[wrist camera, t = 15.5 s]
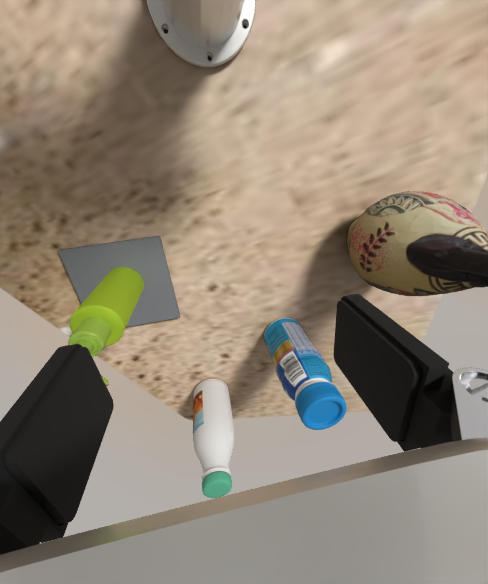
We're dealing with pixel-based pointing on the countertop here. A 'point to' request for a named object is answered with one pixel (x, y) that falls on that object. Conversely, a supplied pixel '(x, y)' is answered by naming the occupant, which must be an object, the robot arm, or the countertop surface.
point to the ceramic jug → (419, 245)
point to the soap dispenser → (106, 311)
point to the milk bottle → (213, 435)
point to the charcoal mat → (133, 254)
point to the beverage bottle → (304, 374)
